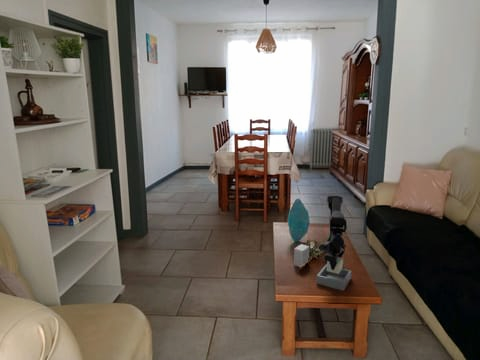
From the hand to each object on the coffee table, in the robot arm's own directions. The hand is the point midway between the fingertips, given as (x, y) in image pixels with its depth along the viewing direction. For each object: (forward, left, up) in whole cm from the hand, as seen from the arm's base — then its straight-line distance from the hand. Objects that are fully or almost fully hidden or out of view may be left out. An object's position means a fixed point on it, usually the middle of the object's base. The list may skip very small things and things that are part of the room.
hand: (334, 267), depth 186 cm
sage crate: (0, 0, -2) cm, 2 cm away
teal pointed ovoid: (-37, -36, -8) cm, 52 cm away
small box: (-9, -22, -8) cm, 25 cm away
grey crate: (0, 0, -8) cm, 8 cm away
